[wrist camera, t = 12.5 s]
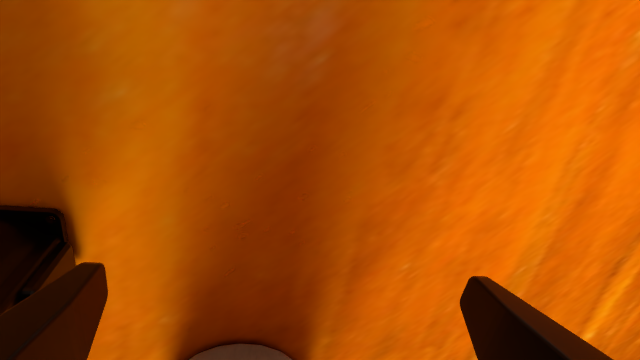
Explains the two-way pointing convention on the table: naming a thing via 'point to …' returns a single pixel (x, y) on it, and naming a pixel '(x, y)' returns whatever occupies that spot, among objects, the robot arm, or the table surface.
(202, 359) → the canister
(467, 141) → the table surface
